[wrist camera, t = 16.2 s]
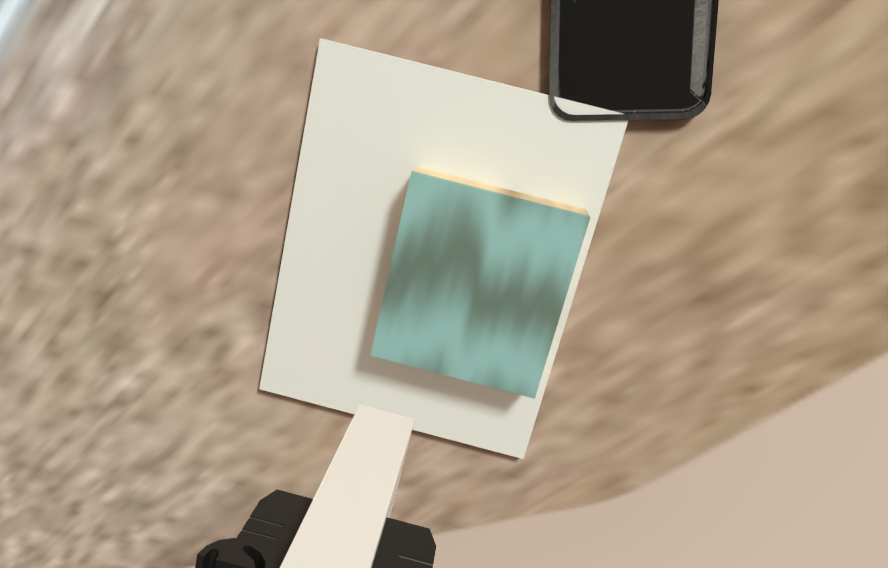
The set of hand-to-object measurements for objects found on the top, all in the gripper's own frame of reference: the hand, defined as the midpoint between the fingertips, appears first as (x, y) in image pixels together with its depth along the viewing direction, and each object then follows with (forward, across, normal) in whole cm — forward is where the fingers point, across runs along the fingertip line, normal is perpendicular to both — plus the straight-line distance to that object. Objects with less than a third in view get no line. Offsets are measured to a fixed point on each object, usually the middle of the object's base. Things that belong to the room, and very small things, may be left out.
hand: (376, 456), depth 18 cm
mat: (+20, -1, 0) cm, 20 cm away
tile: (+19, -3, 0) cm, 19 cm away
